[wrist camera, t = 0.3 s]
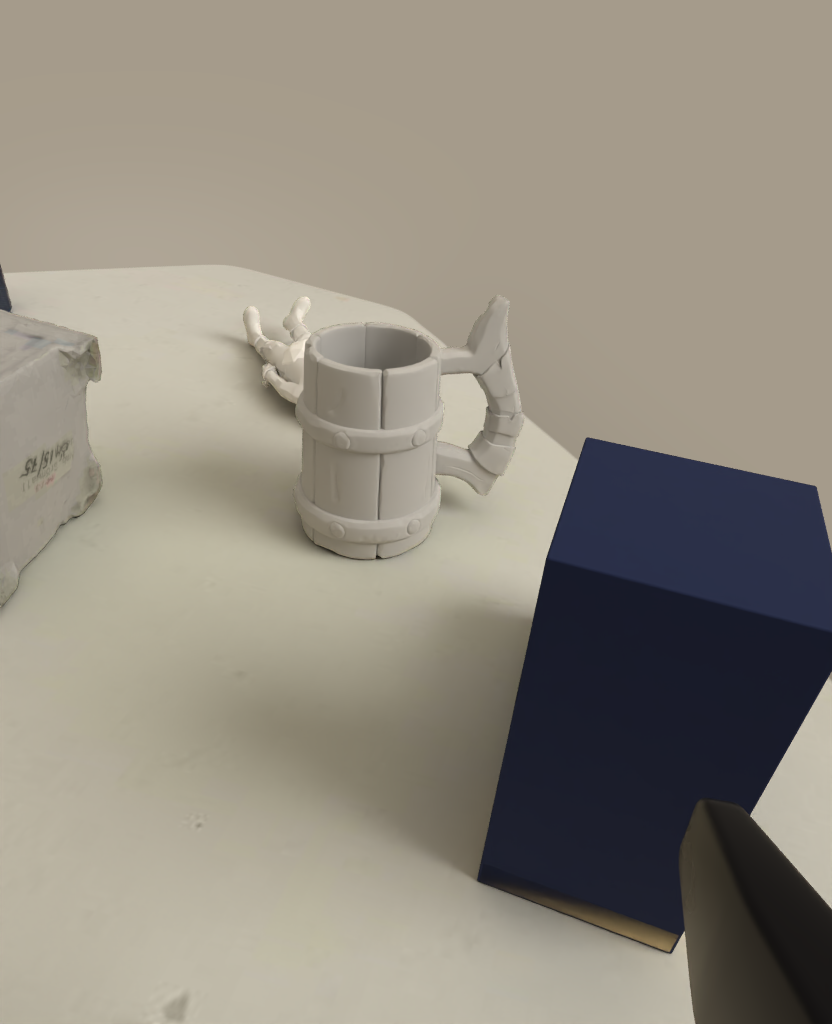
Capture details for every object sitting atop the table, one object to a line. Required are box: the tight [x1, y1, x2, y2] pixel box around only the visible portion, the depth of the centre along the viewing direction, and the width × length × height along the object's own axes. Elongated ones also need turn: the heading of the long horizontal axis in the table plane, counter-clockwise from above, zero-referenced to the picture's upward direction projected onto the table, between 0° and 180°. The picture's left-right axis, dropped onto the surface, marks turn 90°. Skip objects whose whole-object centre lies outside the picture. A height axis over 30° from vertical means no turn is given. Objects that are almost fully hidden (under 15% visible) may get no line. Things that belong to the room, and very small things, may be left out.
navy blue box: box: [477, 438, 832, 953], centre depth 23 cm, size 13×6×13 cm, turn 161°
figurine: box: [243, 296, 312, 404], centre depth 51 cm, size 7×4×18 cm
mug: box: [293, 295, 524, 559], centre depth 35 cm, size 8×12×12 cm, turn 104°
